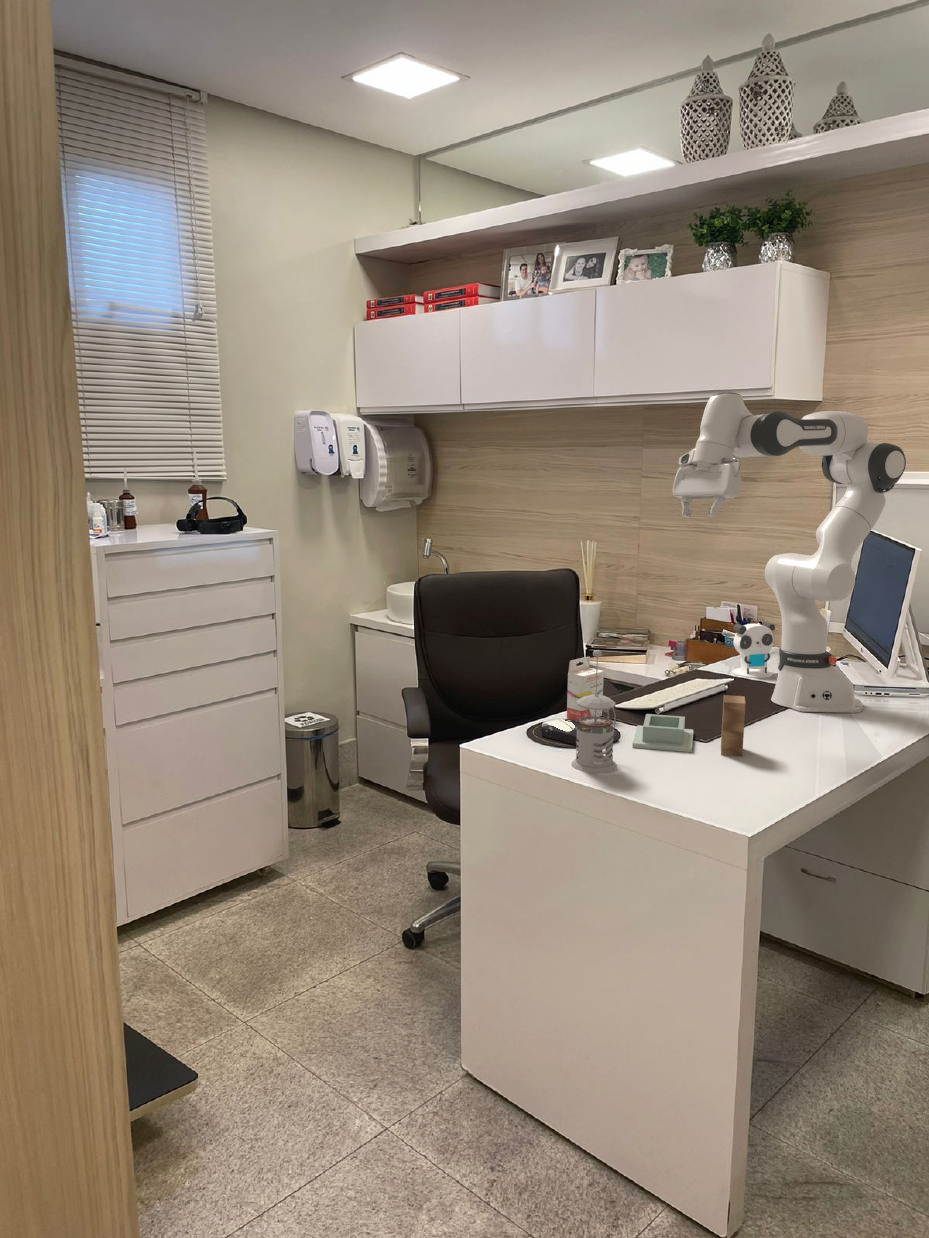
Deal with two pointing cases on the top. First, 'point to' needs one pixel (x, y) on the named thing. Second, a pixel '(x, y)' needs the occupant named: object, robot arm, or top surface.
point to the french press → (595, 734)
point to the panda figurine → (753, 649)
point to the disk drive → (568, 733)
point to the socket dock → (663, 734)
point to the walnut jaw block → (733, 725)
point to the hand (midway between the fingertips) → (698, 516)
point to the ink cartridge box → (582, 688)
